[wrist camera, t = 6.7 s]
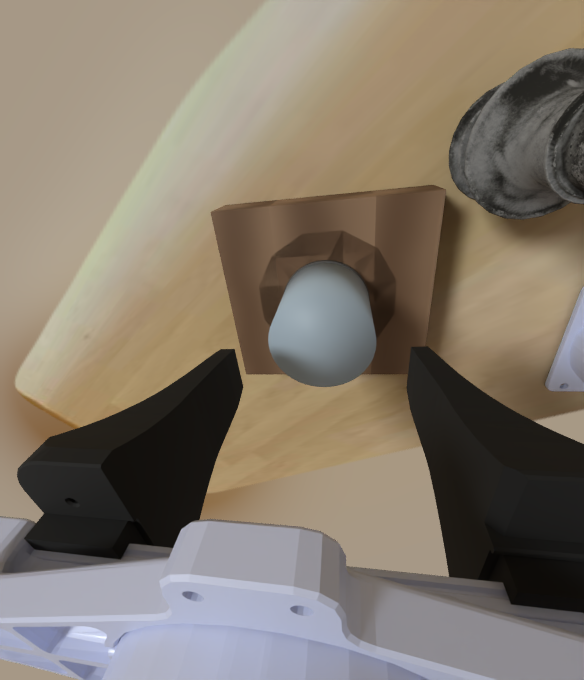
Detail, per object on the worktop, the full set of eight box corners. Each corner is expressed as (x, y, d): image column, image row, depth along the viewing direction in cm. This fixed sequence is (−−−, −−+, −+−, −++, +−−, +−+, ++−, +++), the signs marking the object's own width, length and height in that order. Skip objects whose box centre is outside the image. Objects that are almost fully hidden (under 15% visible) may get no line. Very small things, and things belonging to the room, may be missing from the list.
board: (433, 184, 17) (446, 189, 15) (414, 353, 23) (421, 373, 20) (225, 205, 19) (210, 212, 17) (254, 355, 25) (246, 374, 23)
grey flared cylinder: (507, 226, 18) (734, 329, 7) (418, 176, 17) (535, 214, 7) (604, 109, 15) (1213, 12, 4) (501, 42, 14) (937, -253, 4)
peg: (367, 245, 19) (380, 291, 13) (365, 320, 22) (375, 388, 15) (285, 251, 20) (259, 296, 14) (293, 322, 22) (274, 387, 16)
